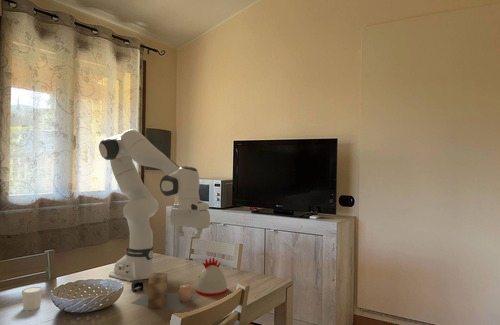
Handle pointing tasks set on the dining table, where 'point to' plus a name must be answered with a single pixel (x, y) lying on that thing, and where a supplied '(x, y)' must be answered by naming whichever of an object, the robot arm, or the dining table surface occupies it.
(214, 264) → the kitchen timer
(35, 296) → the white cylinder
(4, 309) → the dining table surface
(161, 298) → the block lower
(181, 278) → the dining table surface
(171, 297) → the mat
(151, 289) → the block upper
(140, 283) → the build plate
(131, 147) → the robot arm
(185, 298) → the drum
